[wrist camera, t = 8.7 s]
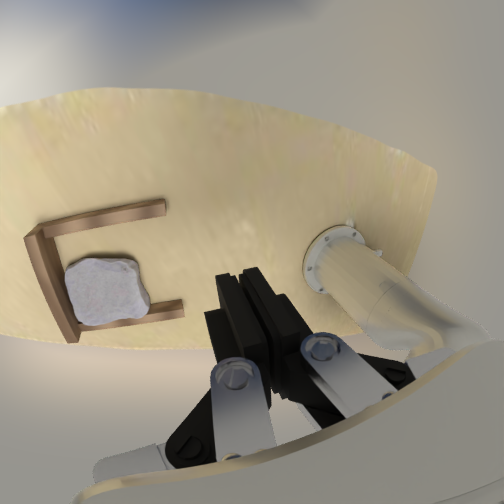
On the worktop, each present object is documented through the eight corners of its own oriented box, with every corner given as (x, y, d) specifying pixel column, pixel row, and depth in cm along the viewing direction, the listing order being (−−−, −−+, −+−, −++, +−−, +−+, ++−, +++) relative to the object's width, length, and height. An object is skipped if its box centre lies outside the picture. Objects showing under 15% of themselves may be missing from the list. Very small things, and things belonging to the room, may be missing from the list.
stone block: (66, 258, 33) (84, 318, 36) (55, 267, 29) (77, 332, 31) (137, 242, 36) (152, 305, 39) (134, 249, 32) (152, 319, 35)
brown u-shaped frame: (164, 198, 33) (164, 209, 28) (183, 307, 40) (186, 327, 36) (38, 224, 28) (23, 237, 24) (74, 322, 36) (67, 343, 31)
